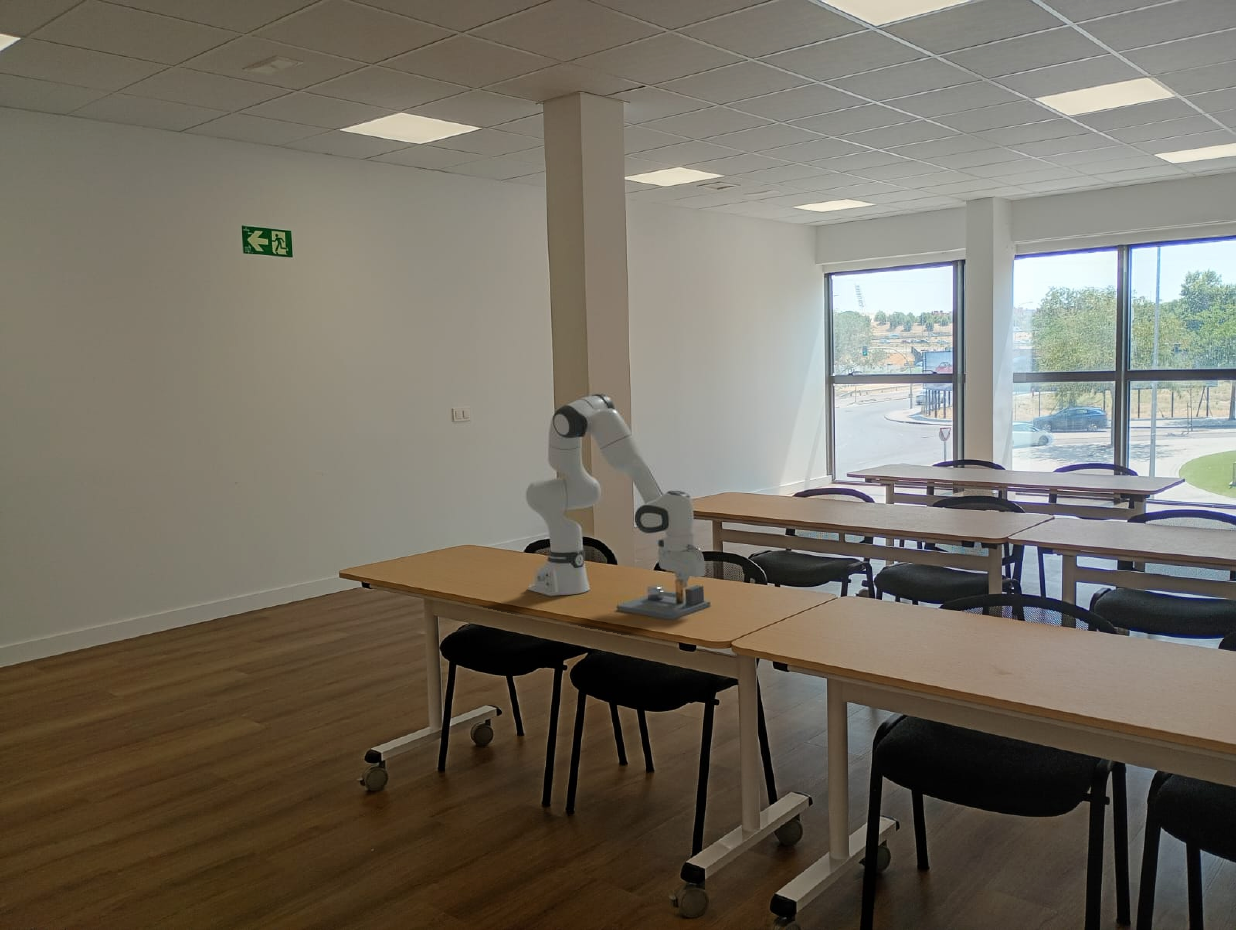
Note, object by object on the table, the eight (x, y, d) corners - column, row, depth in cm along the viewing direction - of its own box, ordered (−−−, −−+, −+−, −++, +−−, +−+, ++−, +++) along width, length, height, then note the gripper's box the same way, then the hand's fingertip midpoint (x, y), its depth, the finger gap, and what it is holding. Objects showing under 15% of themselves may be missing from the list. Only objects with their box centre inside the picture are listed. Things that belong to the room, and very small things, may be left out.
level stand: (616, 610, 296) (615, 589, 296) (655, 597, 310) (655, 577, 310) (672, 619, 282) (671, 598, 281) (710, 606, 296) (709, 585, 295)
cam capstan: (644, 598, 302) (643, 577, 302) (655, 595, 306) (654, 574, 305) (677, 604, 293) (676, 582, 292) (688, 601, 296) (687, 579, 296)
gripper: (709, 545, 288) (711, 590, 290) (670, 537, 306) (672, 580, 307) (692, 548, 285) (694, 594, 286) (653, 540, 302) (656, 583, 304)
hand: (682, 586), depth 297 cm, fingers closed
